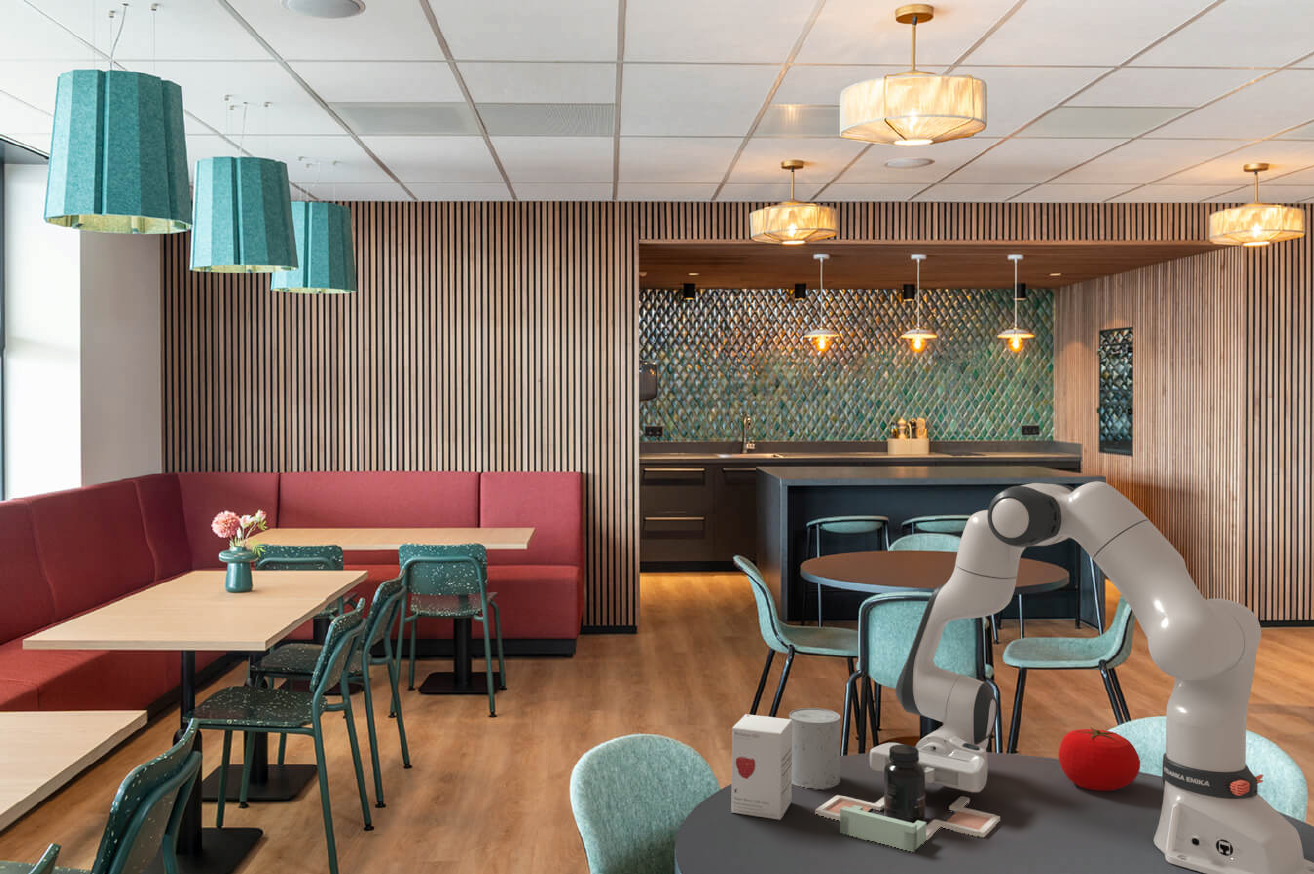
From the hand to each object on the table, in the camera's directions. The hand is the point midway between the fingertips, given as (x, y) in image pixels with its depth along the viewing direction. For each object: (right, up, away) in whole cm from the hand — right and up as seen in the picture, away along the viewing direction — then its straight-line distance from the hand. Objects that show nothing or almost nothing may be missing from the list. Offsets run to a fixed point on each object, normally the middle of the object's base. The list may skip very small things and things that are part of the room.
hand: (910, 778), depth 173 cm
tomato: (+38, -6, +14) cm, 41 cm away
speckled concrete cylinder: (-14, -6, +16) cm, 22 cm away
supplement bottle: (-2, -6, -3) cm, 7 cm away
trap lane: (-1, -6, -1) cm, 6 cm away
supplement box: (-25, -6, +3) cm, 26 cm away
